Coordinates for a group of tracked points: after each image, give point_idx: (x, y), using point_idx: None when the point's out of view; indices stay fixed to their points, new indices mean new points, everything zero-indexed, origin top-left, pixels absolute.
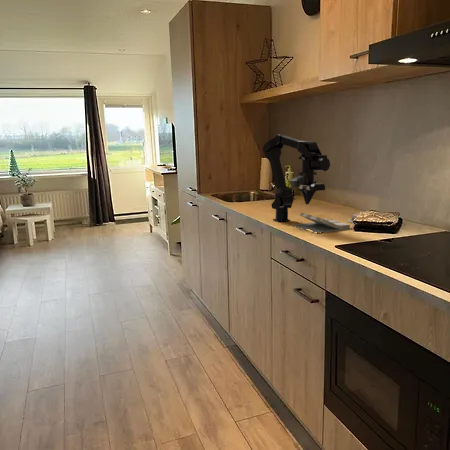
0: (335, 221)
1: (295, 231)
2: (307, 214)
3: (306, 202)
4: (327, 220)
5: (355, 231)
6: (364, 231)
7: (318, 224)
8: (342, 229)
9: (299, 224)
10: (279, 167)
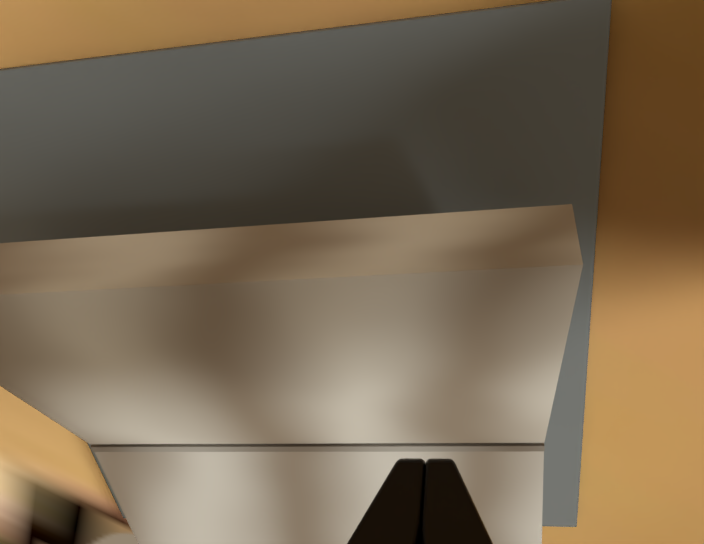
0: (347, 539)
1: None
2: (320, 273)
3: (387, 499)
4: None
5: (36, 487)
6: (30, 536)
7: None
8: None
9: (574, 147)
10: None
